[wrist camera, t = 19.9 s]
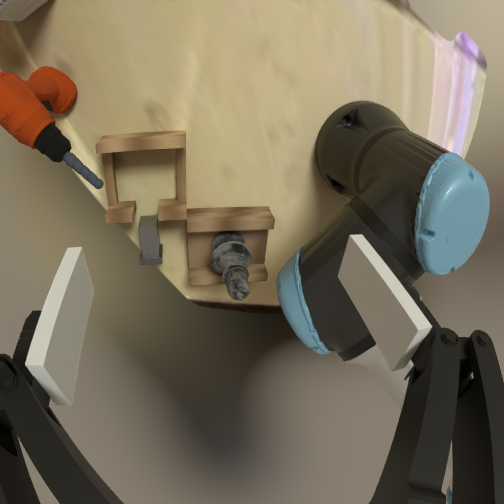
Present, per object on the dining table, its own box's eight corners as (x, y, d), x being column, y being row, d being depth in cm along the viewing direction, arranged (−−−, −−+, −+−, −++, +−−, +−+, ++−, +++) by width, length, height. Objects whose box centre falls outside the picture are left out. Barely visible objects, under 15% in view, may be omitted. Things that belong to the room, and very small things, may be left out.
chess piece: (213, 264, 49) (222, 321, 39) (205, 232, 45) (212, 288, 36) (250, 255, 49) (267, 311, 40) (244, 224, 46) (262, 277, 36)
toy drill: (121, 170, 37) (77, 217, 25) (29, 88, 29) (-42, 103, 16) (144, 142, 36) (107, 177, 23) (49, 59, 28) (-21, 60, 15)
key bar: (159, 215, 44) (158, 228, 41) (162, 249, 47) (162, 263, 44) (138, 216, 43) (135, 229, 40) (142, 250, 47) (140, 264, 44)
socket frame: (185, 130, 38) (185, 138, 34) (186, 205, 44) (186, 219, 41) (103, 136, 35) (95, 144, 32) (111, 209, 42) (106, 223, 39)
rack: (268, 206, 47) (274, 219, 43) (261, 265, 53) (266, 280, 50) (186, 208, 44) (186, 222, 41) (189, 269, 51) (190, 285, 47)
